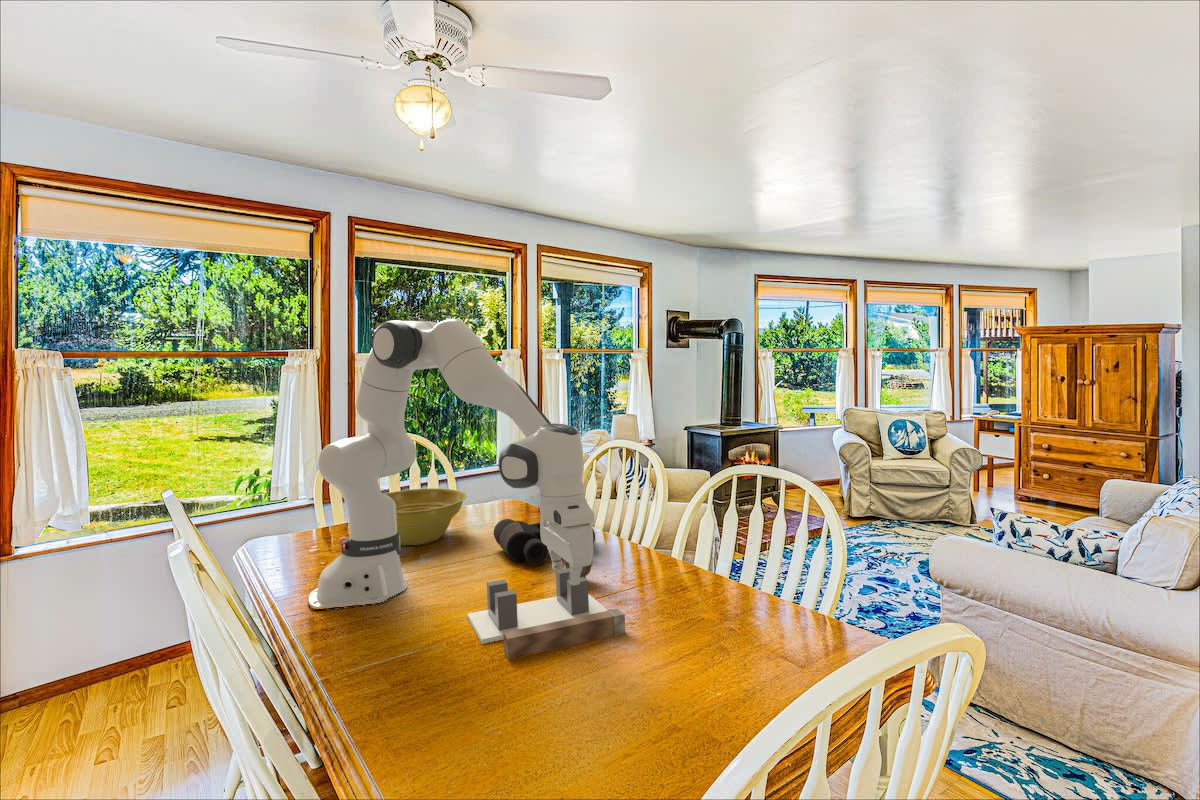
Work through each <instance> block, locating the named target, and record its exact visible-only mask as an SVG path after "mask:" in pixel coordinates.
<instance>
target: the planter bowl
mask: <svg viewBox="0 0 1200 800" xmlns="http://www.w3.org/2000/svg"><path fill="white" fill-rule="evenodd" d="M384 494H385V495H387V496H389V497H391V498H392V499H393V500H394V502H395V504H396V516H397V531H398V532H399V536H400V546H404V545H414V546H421V544H422V545H427V544H430V542H431V543H433V542H436V541H437V540H439V539H440V538H441V537H442V536H443V535H445V532H446V531H447V530H448V528H449V526H450V524H451V521H452V520H453V519H452V518H453V517H454V516H456V515H457V514H458V513H459V512H460V510H461V507H462V505H463V502H464V501H465V500H466V499H467V497H468V496H467V494H466V493H465V492H463V491H460V490H457V489H453V488H452V489H451V488H434V487H433V488H414V489H413V488H412V489H405V490H398V491H392V492H388V493H384ZM426 543H427V544H426Z"/></svg>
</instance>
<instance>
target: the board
mask: <svg viewBox="0 0 1200 800" xmlns="http://www.w3.org/2000/svg"><path fill="white" fill-rule="evenodd" d="M570 570H571V568H568V569H566V568H563V569H562V570H558V571H555V578H556V579H555V581H556V589H555V590H556V596H552V597H546V598H543V599H536V600H532V601H526V602H521V603H518V600H517V599H518V596H517V593H516V591H515V590H514V589H511V590H508V589H509V588H508V587H509V586H508V582H507V581H506V579H500V580H495V581H488V582H486V597H487V598H486V599H487V600H486V601H487V609H486V610H485V609H484V610H480V611H479V610H478V611H474V612H470V613H469V612H468V613H467V619H468V621H469V623H470V625H471V627H472V629H473V630H474V632H475V634H476V636H477V637H478V639H479V641H480V643H481V644H482V645H485V644H490V643H493V642H494V641H495V642H499V640H500V641H504V636H503V633H504V632H509V631H514V630H518V629H523V628H528V627H533V626H538V625H542V624H547V623H552V622H557V621H561V620H566V619H571V618H576V617H580V616H585V615H590V614H595V613H600V612H604V611H607V610H608V609H607V608H606V607H604V606H603V605H602V604H601V603H600V602H599V601H598V600H596V599H595V598H594V597H593V596H592V595H590V593H589V580H588V579H587V578H586V579H585V578H584V577H582V578H580V584H579V585H574V586H573V585H571V584H570V583H569V574H570ZM489 642H490V643H489Z"/></svg>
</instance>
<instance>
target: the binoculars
mask: <svg viewBox="0 0 1200 800" xmlns="http://www.w3.org/2000/svg"><path fill="white" fill-rule="evenodd" d="M592 530H593V545H595V541H596V533H595V531H594V529H593V527H592ZM493 538H494V539H495V541H496V544H498V545H499V546H500V548H501V549H502V550H503V551H504V553H506V555H508V556H509V558H510V559H511V560H513V561H515V562H517V563H525V562H528V563H529V564H531V565H540V564H543V563H544V562H545V561H546V560H547V559H548V556H549V547H547V546H546V545H545V544H543V543H542V541H541V537H540V522H536V523H527V522H525V521H521V520H514V519H511V518H504V519H501V520H500V521H498V522H497V524H495V526H494V529H493Z"/></svg>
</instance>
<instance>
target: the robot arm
mask: <svg viewBox="0 0 1200 800" xmlns="http://www.w3.org/2000/svg"><path fill="white" fill-rule="evenodd" d="M425 369H426V370H428V369H438V370H439V372H440V374H441V375H442V377H443V379H444V380H445V383H446V384H447V386H448V387H449V389H450V390H451V392H452V393H454V395H455V396H457V398H458V399H460V400H461V401H463V402H465V403H468V404H471V405H475V406H481V407H485V408H489V409H493V410H496V411H499V412H500V413H502V414H505V415H507V416H508V417H509V418H510V419H511V420H512V421H513V422H514V423H515V425H516V427H518V429H519V430H520V431H521V432H522V434H523V435H524V436H525V437H524V438H522V439H519V440H517V441H513V442H511V443H509V444H507V445H505V446H504V447H503V448H502V450H501V452H500V454H499V455H498V456H499V458H498V470H499V474H500V477H501V479H502V480H503V482H504V483H506V485H508V486H509V487H510V488H512V489H528V488H531V487H537V488H538V489H539V510H540V513H539V514H540V517H539V519H540V520H539V521H540V522H539V523H540V537H541V541H542V543H543V544H545V545H546V546H547V548H548V554H549V556H550V559H551V565H552V566H551V568H552V569H553V570H554V571H555V572H556V571H558V570H562V569H564V567H563V563H564V562H565V561H567V562H568V563H569V567H570V568H571V570H570V574H569V583H570V584H571V585H573V586H574V585H579V584H580V574H581V571H582V568H583V567H584V566H589V565H590V564H591V562H592V563H593V559H594V544H593V530H594V529H593V530H592V528H593V526H592V523H595V513H594V510H593V509H592V508H591V507H590V505H589V503H588V501H587V499H586V492H585V491H586V490H585V486H584V483H583V474H584V469H585V468H584V467H585V465H584V462H585V461H584V451H583V443H582V439H581V436H580V433H579V431H578V430H577V428H574V427H573V426H572V425H568V424H566V423H565V424H564V423H552V422H551V421H550V420H549V419H548V418H547V416H546V415H545V414H544V412H543V411H542V410H541V409H540V408H539V406H538V405H537V404H536V403H535V401H534V400H533V399H532V398H531V397H530V395H529V394H528V392H526V391H525V389H524V388H523V387H522V386H521V385H520V384H519V383H518V382H516V380H515V379H513V378H511V376H510V375H509V374H507V372H505V371H504V370H503V368H502V367H501V366H500V365H499V364H498V362H497V361H496V360H495V359H494V357H493V356H492V354H491V353H490V352H489V350H488V349H487V347H486V346H485V344H484V342H483V341H482V340H481V339H480V338H479V336H478V335H477V334H476V333H475V331H474V330H472V329H471V328H470V326H469V325H468V324H467V323H466V322H464V321H463V320H461V319H459V318H448V319H444V320H442V321H440V322H434V321H429V320H400V319H394V320H388V321H385V322H382V323H380V324H379V325H378V326H377V327H376V328H375V330H374V332H373V334H372V339H371V350H370V352H369V354H368V356H367V360H366V362H365V366H364V368H363V372H362V377H361V381H360V385H359V391H358V395H357V400H356V406H355V408H356V412H357V414H358V415H359V416H360V418H361V419H362V420H364V421H365V422H367V426H368V427H367V432H366V434H365V435H362V436H361V435H360V436H354V437H347V438H342V439H340V440H337V441H335V442H333V443H330V444H326V446H324V447H323V449H321V452H320V454H319V456H318V462H317V463H318V465H317V467H318V469H319V473H320V474H321V477H322V478H323V479H324V480H325V482H327V483H328V484H330V485H332V486H333V487H334V488H335V489H337V490H338V492H339V493H340V494H341V497H342V498H343V500H344V503H345V505H346V509H347V517H348V527H349V529H348V530H349V536H348V537H347V536H341V537H340V538H339V541H338V543H339V545H340V548H341V549H340V550H341V553H340V555H339V556H338V557H336V558H335V559H334V560H333V561H332V562H331V563H330V564H328V565H327V566H326V567H325V568H324V569H322V572H321V573H320V575H319V578H318V583H317V588H315V589H313V590H311V592H310V593H309V595H308V599H307V600H308V601H309V604H310V606H312V607H314V608H331V607H338V606H348V605H350V606H351V605H361V604H362V605H363V604H371V603H380V602H383V603H385V602H386V601H388V600H389V599H390V598H389V597H391V598H393V597H395V596H397V595H396V594H398V593H400V592H401V593H403V592H404V591H406V589H407V587H408V584H407V582H406V579H405V575H404V573H403V569H402V564H401V563H402V562H401V558H400V555H401V545H400V536H399V532H398V531H397V516H396V504H395V502H394V500H393V499H392V498H391V497H389V496H387V495H385V494H386V493H383V491H382V489H381V488H380V485H379V484H380V483H379V479H381V478H385V477H389V476H394V475H397V474H400V473H401V472H403V471H405V470H407V469H409V468H410V467H412V466H413V464H414V463H415V461H416V457H417V447H416V444H415V442H414V440H413V439H412V437H410V436H409V435H408V433H407V431H406V427H405V426H406V425H405V413H406V407H407V404H408V398H409V395H410V394H409V393H410V389H411V385H412V384H411V383H412V379H413V375H414V372H415V371H417V370H418V371H422V370H425ZM562 559H563V560H564V562H563V560H562ZM402 591H403V592H402ZM401 593H400V594H401ZM394 595H395V596H394ZM398 595H399V594H398ZM392 596H393V597H392ZM388 598H389V599H388ZM387 599H388V600H387ZM385 600H386V601H385ZM308 601H307V602H308ZM384 601H385V602H384ZM309 604H308V605H309ZM380 604H381V603H380ZM363 606H364V605H363Z"/></svg>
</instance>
